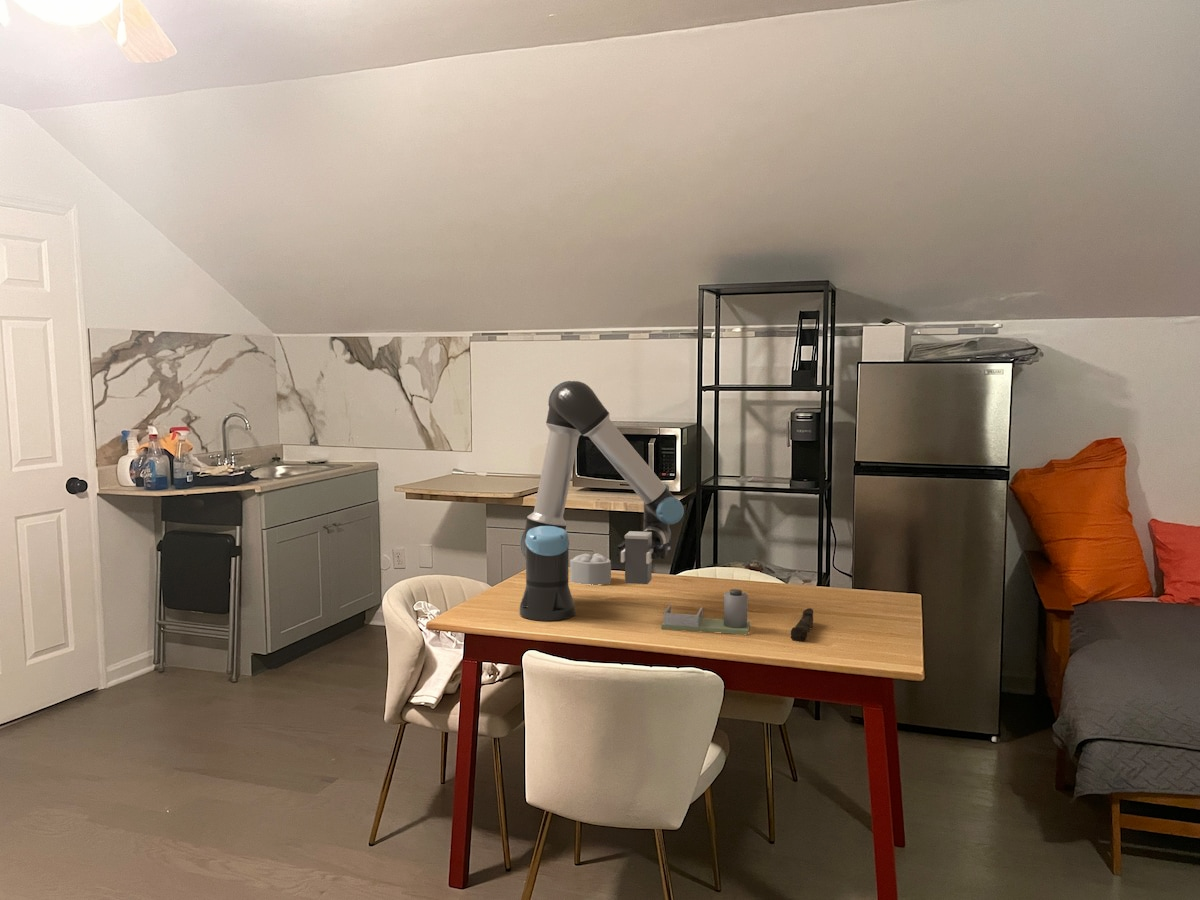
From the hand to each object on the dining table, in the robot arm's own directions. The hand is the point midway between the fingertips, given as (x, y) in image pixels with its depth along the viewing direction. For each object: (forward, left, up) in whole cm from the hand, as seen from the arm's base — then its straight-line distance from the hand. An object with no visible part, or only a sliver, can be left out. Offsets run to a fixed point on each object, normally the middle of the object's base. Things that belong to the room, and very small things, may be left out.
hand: (634, 557), depth 224 cm
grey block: (0, +5, -7) cm, 9 cm away
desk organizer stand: (+18, +5, -18) cm, 26 cm away
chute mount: (+12, +4, -17) cm, 21 cm away
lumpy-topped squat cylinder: (-24, +49, -19) cm, 58 cm away
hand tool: (+43, +7, -19) cm, 47 cm away
